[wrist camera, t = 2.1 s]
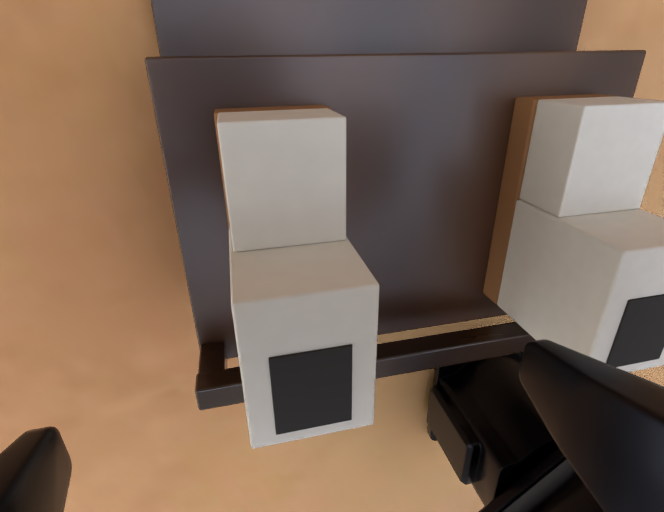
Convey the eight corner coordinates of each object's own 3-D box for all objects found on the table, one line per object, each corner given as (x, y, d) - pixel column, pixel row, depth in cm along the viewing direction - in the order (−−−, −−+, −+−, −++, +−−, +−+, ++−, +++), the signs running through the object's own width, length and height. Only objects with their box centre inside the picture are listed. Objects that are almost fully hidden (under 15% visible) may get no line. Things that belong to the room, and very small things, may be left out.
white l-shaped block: (550, 282, 16) (671, 366, 12) (482, 292, 16) (583, 384, 11) (597, 93, 13) (784, 111, 9) (515, 96, 13) (671, 117, 8)
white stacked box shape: (328, 314, 15) (375, 427, 10) (242, 327, 14) (251, 452, 10) (325, 104, 12) (388, 133, 7) (213, 108, 11) (207, 143, 6)
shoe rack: (623, -295, 13) (942, -576, 7) (513, 260, 21) (619, 335, 15) (87, -397, 10) (-103, -1034, 4) (206, 300, 18) (198, 411, 12)
